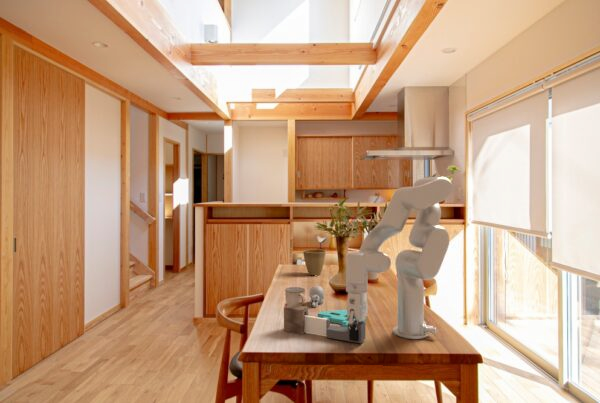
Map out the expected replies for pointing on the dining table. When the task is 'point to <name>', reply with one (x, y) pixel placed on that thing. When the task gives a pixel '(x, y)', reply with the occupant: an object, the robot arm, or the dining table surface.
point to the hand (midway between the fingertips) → (356, 337)
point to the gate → (316, 325)
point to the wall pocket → (294, 318)
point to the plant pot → (314, 261)
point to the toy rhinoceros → (316, 295)
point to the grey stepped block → (346, 332)
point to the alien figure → (336, 316)
